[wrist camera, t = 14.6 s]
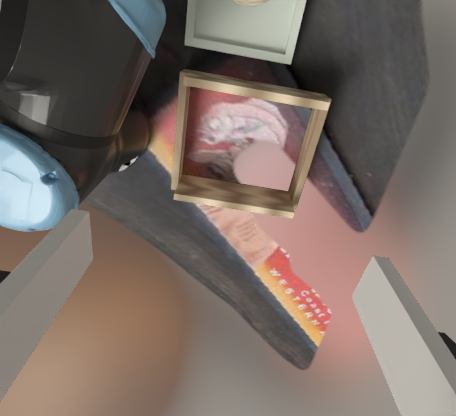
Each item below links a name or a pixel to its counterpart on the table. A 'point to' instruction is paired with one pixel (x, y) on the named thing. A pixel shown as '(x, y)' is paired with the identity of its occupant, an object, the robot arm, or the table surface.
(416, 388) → the robot arm
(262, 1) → the character mug
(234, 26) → the tray
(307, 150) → the wooden frame
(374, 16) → the table surface
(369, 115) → the table surface
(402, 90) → the table surface
